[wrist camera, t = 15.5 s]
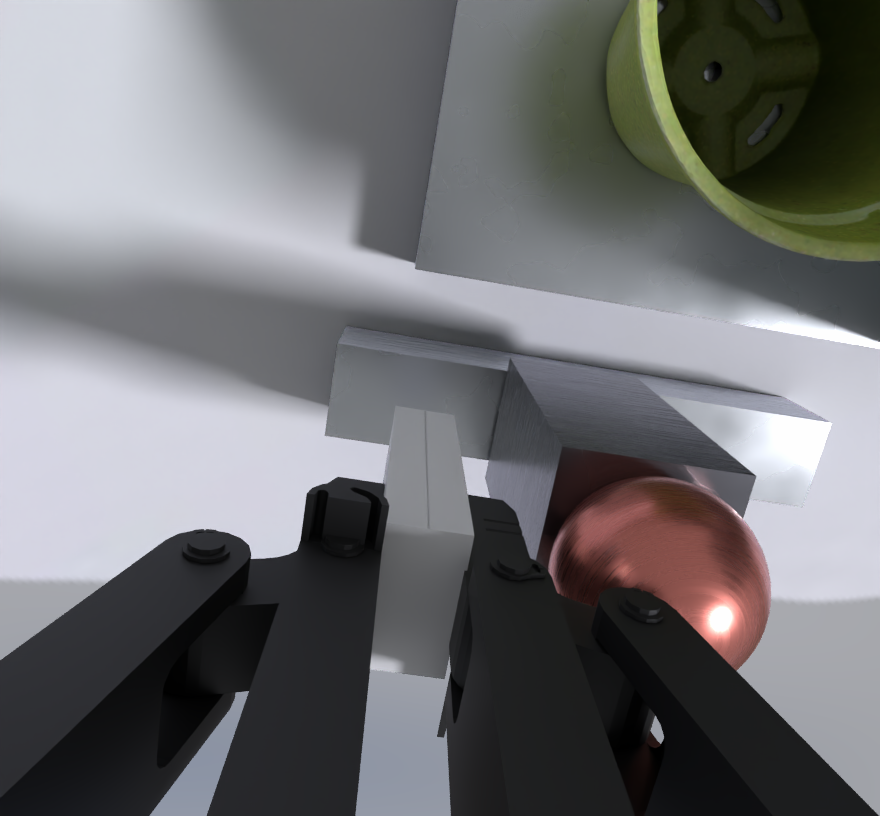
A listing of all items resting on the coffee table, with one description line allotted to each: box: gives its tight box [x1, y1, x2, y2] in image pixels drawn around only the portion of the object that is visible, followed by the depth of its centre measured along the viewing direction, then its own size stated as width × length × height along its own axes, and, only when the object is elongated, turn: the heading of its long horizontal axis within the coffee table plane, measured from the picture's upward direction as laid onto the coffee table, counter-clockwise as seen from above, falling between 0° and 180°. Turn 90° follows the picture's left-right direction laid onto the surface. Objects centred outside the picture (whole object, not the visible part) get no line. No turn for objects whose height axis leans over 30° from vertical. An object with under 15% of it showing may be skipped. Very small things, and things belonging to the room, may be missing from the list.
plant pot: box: [606, 0, 880, 262], centre depth 16 cm, size 9×9×9 cm
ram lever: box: [485, 357, 771, 671], centre depth 17 cm, size 4×4×11 cm
